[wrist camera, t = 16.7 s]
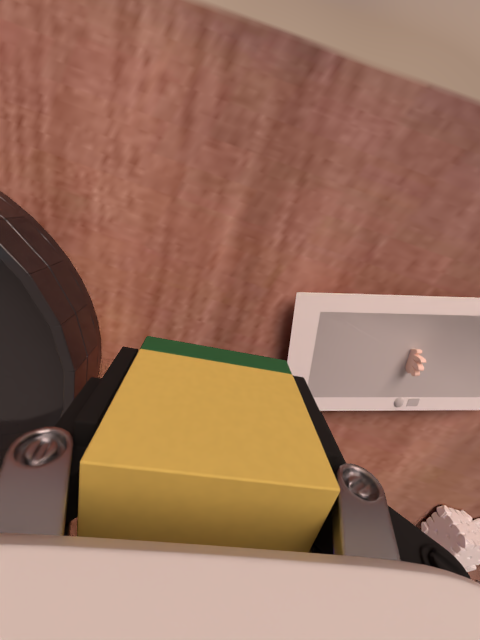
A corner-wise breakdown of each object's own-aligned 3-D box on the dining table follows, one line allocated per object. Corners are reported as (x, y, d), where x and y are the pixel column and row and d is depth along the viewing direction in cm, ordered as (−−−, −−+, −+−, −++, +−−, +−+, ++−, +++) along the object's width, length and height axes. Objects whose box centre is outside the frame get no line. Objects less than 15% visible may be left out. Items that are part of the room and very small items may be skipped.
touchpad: (291, 286, 16) (302, 298, 14) (534, 294, 17) (575, 306, 15) (277, 399, 19) (284, 423, 17) (485, 399, 20) (513, 421, 18)
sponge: (146, 335, 11) (78, 461, 5) (286, 359, 11) (342, 490, 6) (135, 418, 12) (73, 581, 7) (261, 435, 13) (288, 592, 8)
